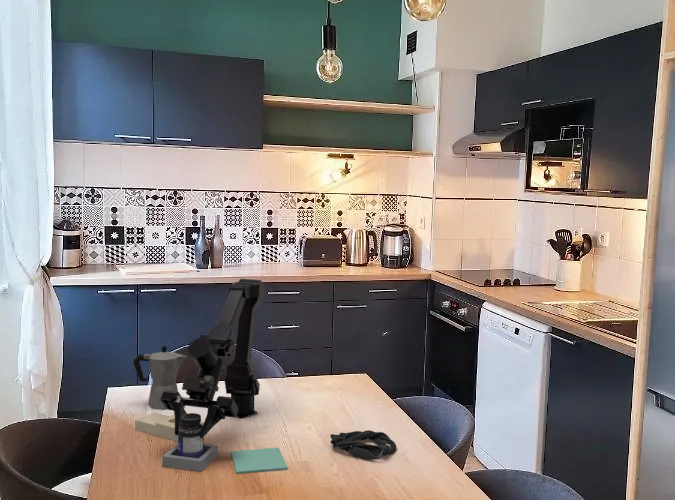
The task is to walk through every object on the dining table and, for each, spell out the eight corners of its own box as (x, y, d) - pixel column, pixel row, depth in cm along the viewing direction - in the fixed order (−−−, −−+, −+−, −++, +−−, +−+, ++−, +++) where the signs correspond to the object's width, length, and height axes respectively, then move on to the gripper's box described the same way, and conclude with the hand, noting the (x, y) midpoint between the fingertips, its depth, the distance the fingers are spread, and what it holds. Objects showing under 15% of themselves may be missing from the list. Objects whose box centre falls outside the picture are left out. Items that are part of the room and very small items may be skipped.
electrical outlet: (154, 408, 184) (204, 421, 175) (154, 423, 184) (204, 436, 176) (135, 416, 178) (185, 430, 169) (135, 431, 178) (185, 445, 169)
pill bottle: (180, 455, 162) (180, 411, 161) (205, 455, 163) (205, 411, 162) (176, 466, 156) (176, 420, 155) (202, 465, 157) (202, 420, 156)
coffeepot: (186, 398, 204) (187, 341, 202) (186, 409, 195) (186, 349, 193) (134, 400, 201) (134, 342, 199) (132, 411, 192) (131, 350, 190)
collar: (181, 450, 165) (181, 440, 165) (218, 454, 163) (218, 445, 163) (162, 466, 156) (162, 456, 155) (201, 471, 154) (201, 461, 153)
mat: (231, 453, 164) (231, 451, 164) (278, 449, 168) (278, 447, 168) (236, 473, 153) (236, 471, 153) (287, 469, 156) (287, 467, 156)
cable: (319, 451, 168) (319, 434, 168) (344, 433, 180) (345, 418, 180) (380, 466, 160) (381, 449, 160) (402, 446, 172) (403, 430, 172)
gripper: (163, 358, 163) (140, 417, 153) (234, 365, 159) (215, 425, 149) (177, 380, 171) (157, 437, 162) (245, 387, 167) (228, 446, 158)
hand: (188, 436), depth 157 cm, fingers closed on pill bottle, 6 cm apart
